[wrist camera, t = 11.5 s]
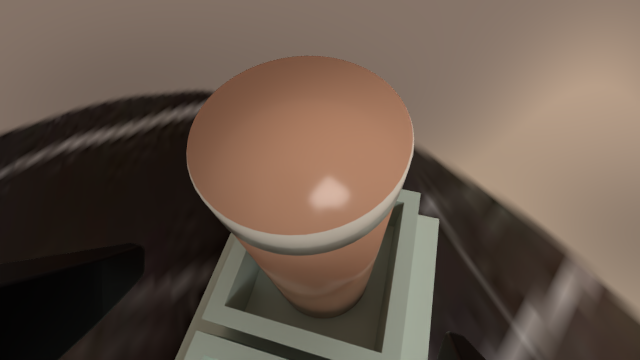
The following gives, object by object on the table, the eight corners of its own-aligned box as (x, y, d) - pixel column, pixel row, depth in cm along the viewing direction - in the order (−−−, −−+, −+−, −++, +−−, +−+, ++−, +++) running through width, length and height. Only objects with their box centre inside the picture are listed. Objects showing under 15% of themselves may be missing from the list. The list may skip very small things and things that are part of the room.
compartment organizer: (390, 722, 11) (419, 911, 7) (91, 571, 13) (-7, 654, 10) (434, 225, 21) (457, 193, 17) (257, 185, 23) (242, 150, 19)
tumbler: (293, 335, 17) (203, 277, 6) (267, 243, 20) (173, 87, 9) (385, 297, 18) (463, 182, 7) (348, 214, 20) (357, 35, 9)
